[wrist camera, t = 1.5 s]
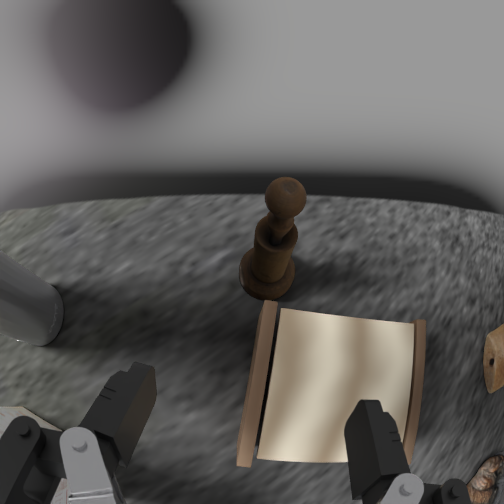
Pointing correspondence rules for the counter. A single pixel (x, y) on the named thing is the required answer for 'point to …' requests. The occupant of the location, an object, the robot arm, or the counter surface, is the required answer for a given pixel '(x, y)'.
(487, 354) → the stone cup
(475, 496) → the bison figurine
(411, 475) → the robot arm
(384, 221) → the counter surface
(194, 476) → the counter surface
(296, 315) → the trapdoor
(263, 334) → the brown upright panels
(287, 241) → the brown wooden pepper mill
